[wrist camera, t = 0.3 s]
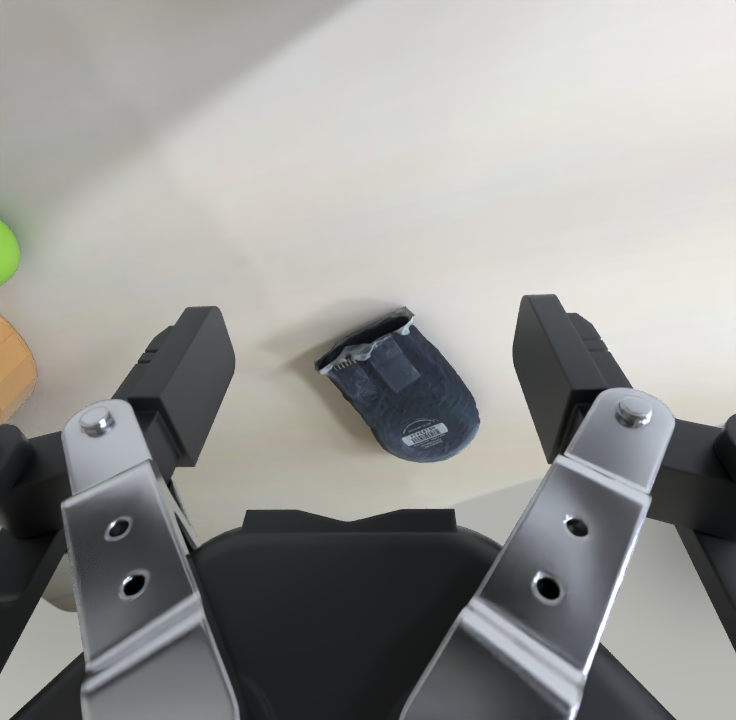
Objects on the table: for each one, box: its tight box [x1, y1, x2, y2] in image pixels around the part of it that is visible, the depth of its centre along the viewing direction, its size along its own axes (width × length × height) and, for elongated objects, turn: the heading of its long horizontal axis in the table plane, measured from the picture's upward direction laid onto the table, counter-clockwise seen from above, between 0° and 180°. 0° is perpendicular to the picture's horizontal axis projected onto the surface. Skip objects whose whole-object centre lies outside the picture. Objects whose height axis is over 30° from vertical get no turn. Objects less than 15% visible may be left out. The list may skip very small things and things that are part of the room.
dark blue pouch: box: [314, 306, 480, 463], centre depth 36 cm, size 9×6×15 cm
